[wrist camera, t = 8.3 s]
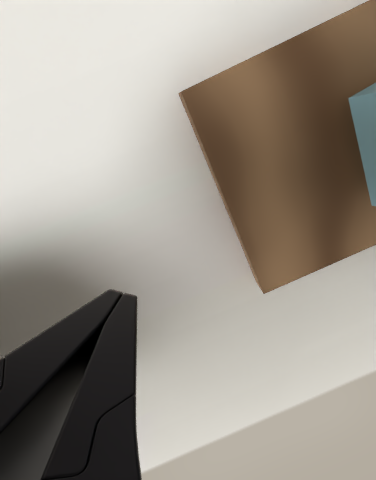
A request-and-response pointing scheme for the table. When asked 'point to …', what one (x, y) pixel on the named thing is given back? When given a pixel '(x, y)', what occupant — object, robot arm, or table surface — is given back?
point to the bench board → (292, 147)
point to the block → (366, 133)
